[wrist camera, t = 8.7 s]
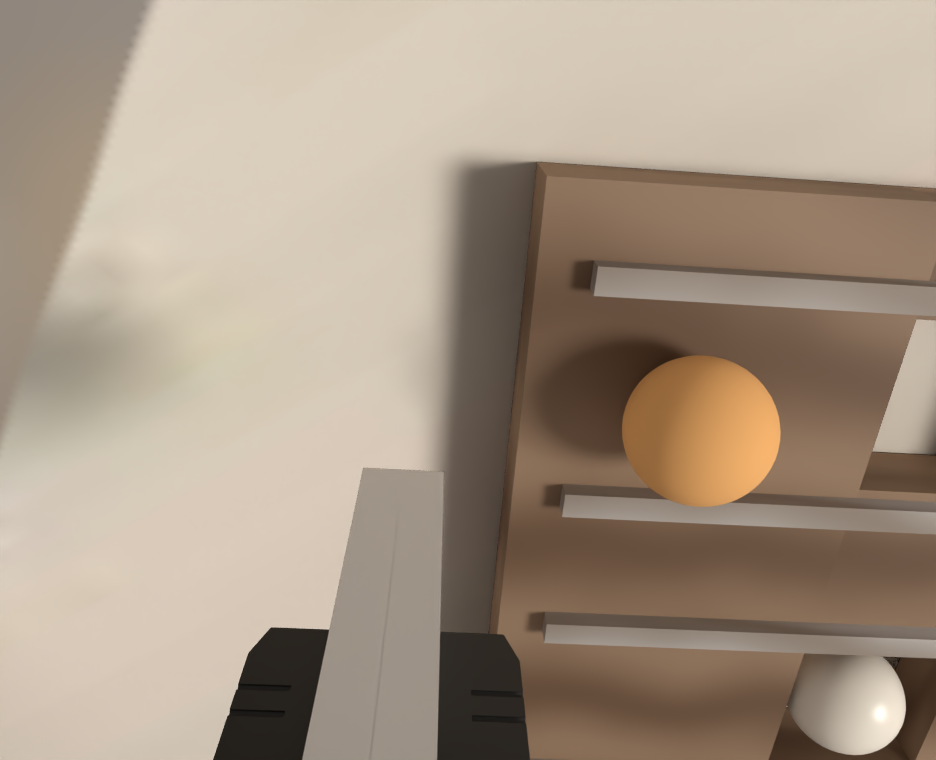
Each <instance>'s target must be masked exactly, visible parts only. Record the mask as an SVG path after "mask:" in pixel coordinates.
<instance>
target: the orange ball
mask: <svg viewBox="0 0 936 760" xmlns="http://www.w3.org/2000/svg"><path fill="white" fill-rule="evenodd" d="M780 434H781V431H780V421H779V416H778V412H777V409H776V406H775V404H774V402H773V399H772V397H771V396H770V394H769V393H768V391H767V390H766V388H765V387H764V385H763V384H762V383H761V382H760V381H759V380H758V379H757V378H756V377H755V376H754V375H753V374H751V373H750V372H749V371H748V370H746V369H745V368H743V367H741V366H739V365H738V364H736V363H733V362H731V361H728V360H726V359H722V358H718V357H713V356H705V355H693V356H685V357H681V358H677V359H674V360H671V361H668V362H666V363H664V364H662V365H660V366H658V367H657V368H655V369H654V370H652V371H651V372H650V373H649V374H647V375H646V376H645V377H644V378H643V379H642V380H641V381H640V382H639V384H638V385H637V386H636V388H635V389H634V390H633V392H632V394H631V396H630V397H629V399H628V402H627V405H626V407H625V411H624V415H623V421H622V439H623V444H624V448H625V452H626V455H627V457H628V460H629V462H630V464H631V465H632V467H633V469H634V471H635V472H636V474H637V475H638V476H639V477H640V479H641V480H642V481H643V482H644V483H645V484H646V485H647V486H648V487H649V488H651V489H652V490H653V491H655V492H656V493H658V494H659V495H661V496H663V497H664V498H666V499H668V500H671V501H674V502H677V503H679V504H683V505H687V506H695V507H711V506H718V505H723V504H727V503H729V502H732V501H735V500H737V499H739V498H741V497H743V496H744V495H746V494H748V493H749V492H750V491H752V490H753V489H754V488H755V487H757V486H758V485H759V484H760V483H761V482H762V480H763V479H764V478H765V477H766V475H767V474H768V472H769V471H770V469H771V468H772V466H773V464H774V462H775V459H776V456H777V454H778V449H779V444H780Z"/></svg>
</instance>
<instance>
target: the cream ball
mask: <svg viewBox="0 0 936 760" xmlns="http://www.w3.org/2000/svg"><path fill="white" fill-rule="evenodd" d="M787 707H788V710H789V712H790V714H791V716H792V718H793V719H794V721H795V722H796V724H797V725H798V726H799V727H800V729H801V730H802V731H803V732H804V733H805V734H806V735H807V736H808V737H809V738H811V739H812V740H813V741H815V742H816V743H818V744H819V745H821V746H823V747H825V748H827V749H829V750H831V751H834V752H837V753H842V754H847V755H864V754H869V753H872V752H875V751H878V750H880V749H882V748H883V747H885V746H886V745H888V744H889V743H890V742H891V741H892V740H893V739H894V738H895V737H896V736H897V734H898V733H899V731H900V729H901V727H902V725H903V722H904V718H905V712H906V700H905V695H904V690H903V687H902V684H901V682H900V680H899V678H898V676H897V674H896V672H895V671H894V669H893V668H892V666H891V665H890V664H889V663H888V662H887V661H886V659H885V658H883V657H882V656H860V655H835V654H809V653H804V656H803V659H802V662H801V665H800V668H799V671H798V674H797V677H796V680H795V683H794V685H793V688H792V691H791V694H790V697H789V700H788V703H787Z"/></svg>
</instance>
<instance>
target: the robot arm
mask: <svg viewBox="0 0 936 760" xmlns="http://www.w3.org/2000/svg"><path fill="white" fill-rule="evenodd" d="M443 491H444V472H442V471H421V470H400V469H380V468H363V471H362V476H361V481H360V486H359V490H358V495H357V500H356V505H355V510H354V514H353V519H352V524H351V529H350V534H349V538H348V543H347V548H346V553H345V557H344V562H343V567H342V572H341V577H340V581H339V586H338V591H337V596H336V600H335V605H334V610H333V615H332V620H331V624H330V629H329V630H323V629H297V628H270V629H269V630H268V632H267V633H266V634H265V635H264V636H263V637H262V638H261V639H260V641H259V642H258V643H257V644H256V645H255V646H254V647H253V649H252V650H251V651H250V652H249V653H248V656H247V659H246V662H245V665H244V668H243V671H242V674H241V677H240V680H239V683H238V690H236V692H235V695H234V698H233V701H232V704H231V707H230V714H229V716H227V719H226V722H225V725H224V729H223V732H222V735H221V738H220V741H219V744H218V747H217V750H216V753H215V756H214V759H213V760H530V754H529V745H528V735H527V725H526V721H525V718H526V716H525V706H524V698H523V687H522V677H521V667H520V661H519V659H518V657H517V656H516V654H515V652H514V651H513V649H512V647H511V646H510V644H509V642H508V641H507V639H506V638H505V636H504V634H479V633H453V632H440V616H441V574H442V533H443Z"/></svg>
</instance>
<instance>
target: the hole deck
mask: <svg viewBox="0 0 936 760" xmlns="http://www.w3.org/2000/svg"><path fill="white" fill-rule="evenodd" d="M916 319H923V320H936V189H934V188H919V187H904V186H889V185H874V184H860V183H845V182H830V181H815V180H800V179H785V178H770V177H755V176H740V175H725V174H711V173H696V172H681V171H666V170H651V169H636V168H621V167H606V166H591V165H577V164H562V163H547V162H537V167H536V176H535V186H534V196H533V206H532V216H531V225H530V235H529V245H528V255H527V265H526V274H525V284H524V294H523V304H522V314H521V323H520V333H519V343H518V353H517V362H516V372H515V382H514V392H513V402H512V411H511V421H510V431H509V441H508V451H507V460H506V470H505V480H504V490H503V500H502V509H501V519H500V529H499V539H498V548H497V558H496V568H495V578H494V588H493V597H492V607H491V617H490V627H489V634H504V636H505V638H506V639H507V641H508V642H509V644H510V646H511V647H512V649H513V651H514V652H515V654H516V656H517V657H518V659H519V661H520V667H521V677H522V687H523V698H524V706H525V716H526V718H525V721H526V725H527V735H528V745H529V754H530V760H936V455H918V454H899V453H879V452H872V450H873V447H874V444H875V441H876V438H877V435H878V432H879V429H880V426H881V423H882V420H883V417H884V414H885V411H886V408H887V405H888V402H889V399H890V396H891V393H892V390H893V387H894V384H895V381H896V378H897V376H898V373H899V370H900V367H901V364H902V361H903V358H904V355H905V352H906V349H907V346H908V343H909V340H910V337H911V334H912V331H913V328H914V325H915V322H916ZM693 355H705V356H713V357H718V358H722V359H726V360H728V361H731V362H733V363H736V364H738V365H739V366H741V367H743V368H745V369H746V370H748V371H749V372H750V373H751V374H753V375H754V376H755V377H756V378H757V379H758V380H759V381H760V382H761V383H762V384H763V385H764V387H765V388H766V390H767V391H768V393H769V394H770V396H771V397H772V399H773V402H774V404H775V406H776V409H777V412H778V416H779V421H780V431H781V434H780V444H779V449H778V454H777V456H776V459H775V462H774V464H773V466H772V468H771V469H770V471H769V472H768V474H767V475H766V477H765V478H764V479H763V480H762V482H761V483H760V484H759V485H758V486H757V487H755V488H754V489H753V490H752V491H750V492H749V493H748V494H746V495H744V496H743V497H741V498H739V499H737V500H735V501H732V502H729V503H727V504H723V505H718V506H711V507H695V506H687V505H683V504H679V503H677V502H674V501H671V500H668V499H666V498H664V497H663V496H661V495H659V494H658V493H656V492H655V491H653V490H652V489H651V488H649V487H648V486H647V485H646V484H645V483H644V482H643V481H642V480H641V479H640V477H639V476H638V475H637V474H636V472H635V471H634V469H633V467H632V465H631V464H630V462H629V460H628V457H627V455H626V452H625V448H624V444H623V439H622V421H623V415H624V411H625V407H626V405H627V402H628V399H629V397H630V396H631V394H632V392H633V390H634V389H635V388H636V386H637V385H638V384H639V382H640V381H641V380H642V379H643V378H644V377H645V376H646V375H647V374H649V373H650V372H651V371H652V370H654V369H655V368H657V367H658V366H660V365H662V364H664V363H666V362H668V361H671V360H674V359H677V358H681V357H685V356H693ZM804 653H809V654H835V655H860V656H885V657H901V658H900V660H899V663H898V665H897V668H896V670H895V672H896V674H897V676H898V678H899V680H900V682H901V684H902V687H903V690H904V695H905V700H906V712H905V718H904V722H903V725H902V727H901V729H900V731H899V733H898V734H897V736H896V737H895V738H894V739H893V740H892V741H891V742H890V743H889V744H888V745H886V746H885V747H883V748H882V749H880V750H878V751H875V752H872V753H869V754H864V755H847V754H842V753H837V752H834V751H831V750H829V749H827V748H825V747H823V746H821V745H819V744H818V743H816V742H815V741H813V740H812V739H811V738H809V737H808V736H807V735H806V734H805V733H804V732H803V731H802V730H801V729H800V727H799V726H798V725H797V724H796V722H795V721H794V719H793V718H792V716H791V714H790V712H789V710H788V708H786V706H787V703H788V700H789V697H790V694H791V691H792V688H793V685H794V683H795V680H796V677H797V674H798V671H799V668H800V665H801V662H802V659H803V656H804Z"/></svg>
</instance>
